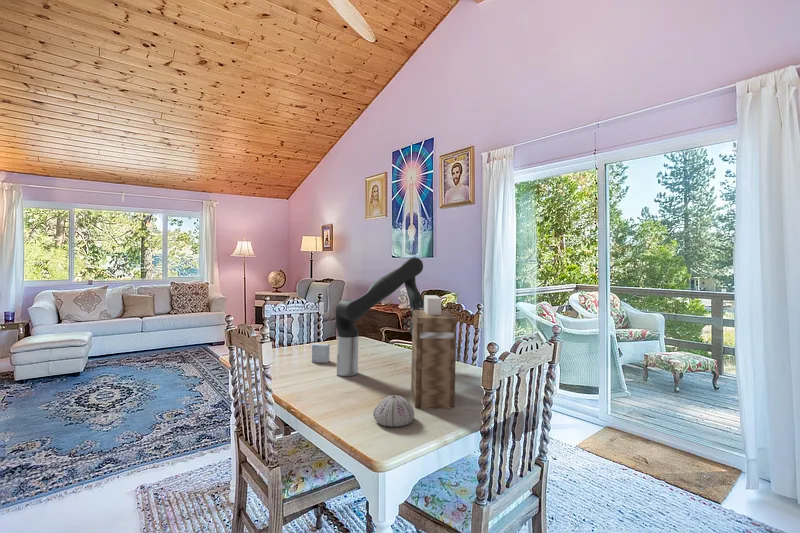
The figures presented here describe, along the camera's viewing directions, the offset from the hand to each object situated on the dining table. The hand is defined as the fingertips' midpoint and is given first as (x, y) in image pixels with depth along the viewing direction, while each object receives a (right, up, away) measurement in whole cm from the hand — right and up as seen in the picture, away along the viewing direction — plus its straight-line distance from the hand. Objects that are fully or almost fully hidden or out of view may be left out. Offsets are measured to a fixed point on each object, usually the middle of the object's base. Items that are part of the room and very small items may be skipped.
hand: (428, 301), depth 162 cm
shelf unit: (0, -35, -13) cm, 38 cm away
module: (0, -3, -6) cm, 6 cm away
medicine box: (-52, -33, +35) cm, 71 cm away
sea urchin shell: (-14, -36, -34) cm, 51 cm away
